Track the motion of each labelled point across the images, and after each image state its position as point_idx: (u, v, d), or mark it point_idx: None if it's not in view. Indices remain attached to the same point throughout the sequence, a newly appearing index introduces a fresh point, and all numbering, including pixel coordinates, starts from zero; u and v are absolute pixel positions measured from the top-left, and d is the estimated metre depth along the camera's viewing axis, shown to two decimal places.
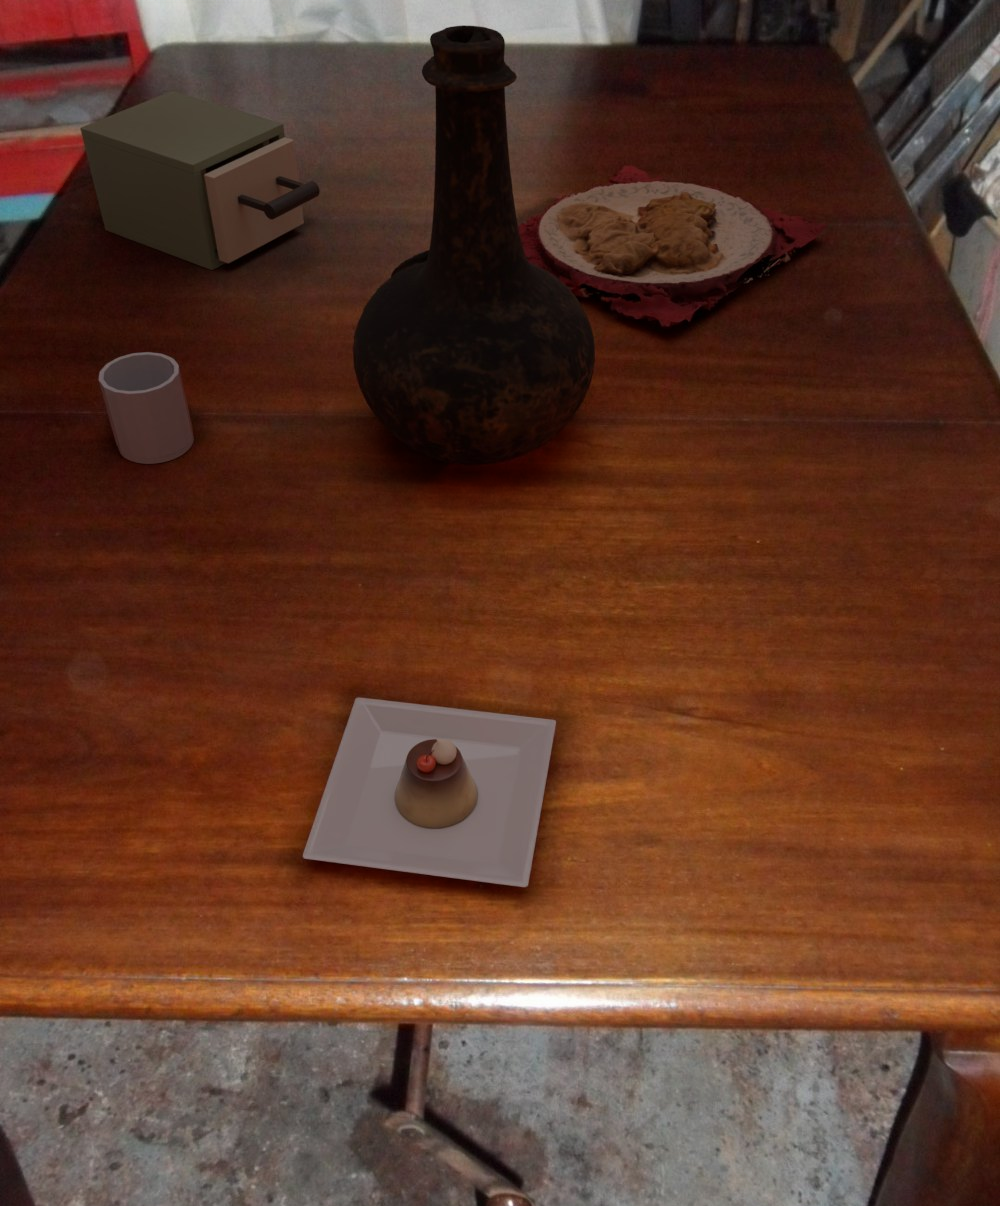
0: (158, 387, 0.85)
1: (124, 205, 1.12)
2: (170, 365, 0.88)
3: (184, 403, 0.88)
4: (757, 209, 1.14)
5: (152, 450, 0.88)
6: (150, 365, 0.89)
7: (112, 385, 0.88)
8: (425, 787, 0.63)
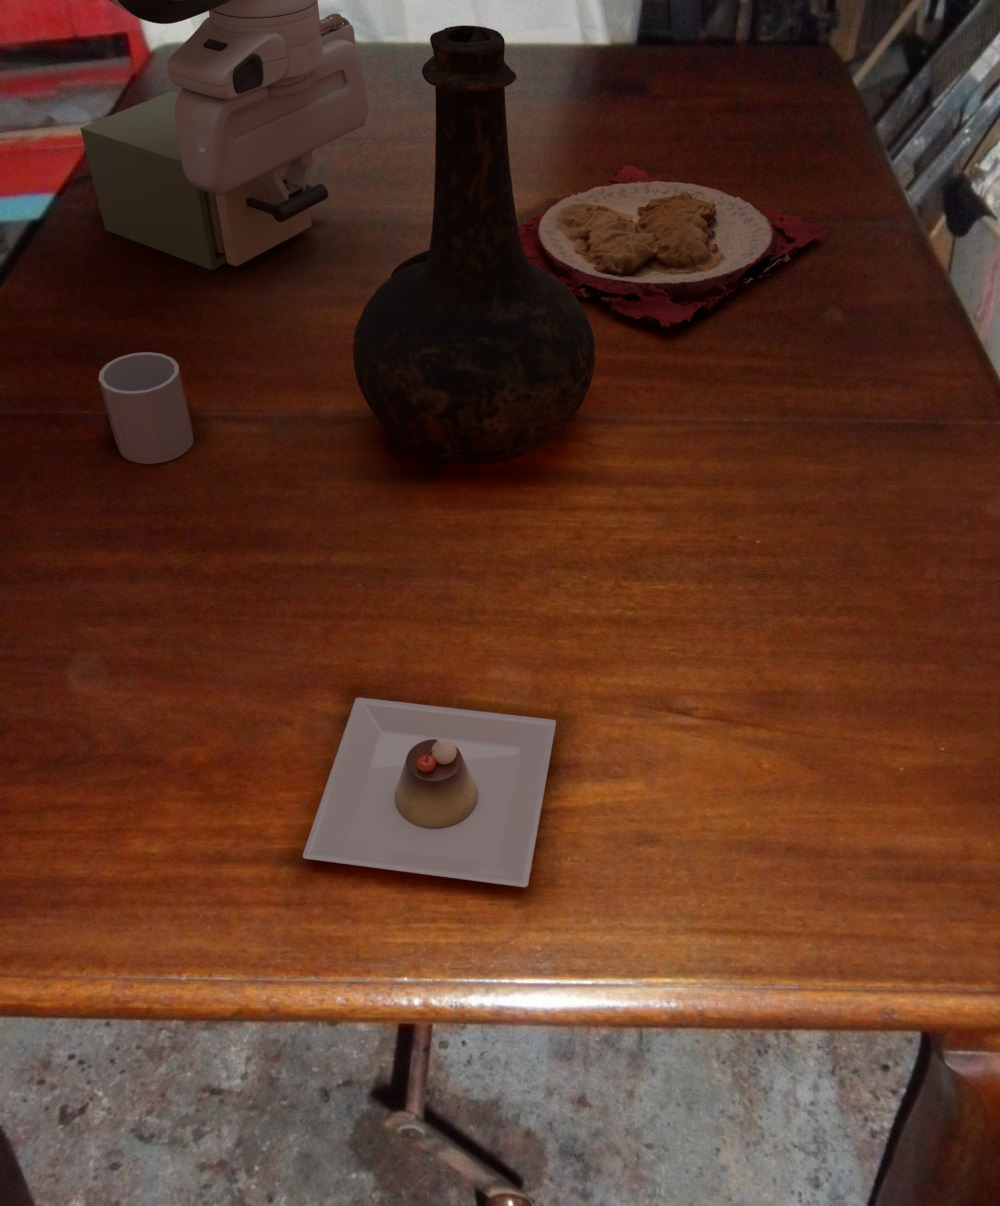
0: (158, 387, 0.85)
1: (124, 205, 1.12)
2: (170, 365, 0.88)
3: (184, 403, 0.88)
4: (757, 209, 1.14)
5: (152, 450, 0.88)
6: (150, 365, 0.89)
7: (112, 385, 0.88)
8: (425, 787, 0.63)
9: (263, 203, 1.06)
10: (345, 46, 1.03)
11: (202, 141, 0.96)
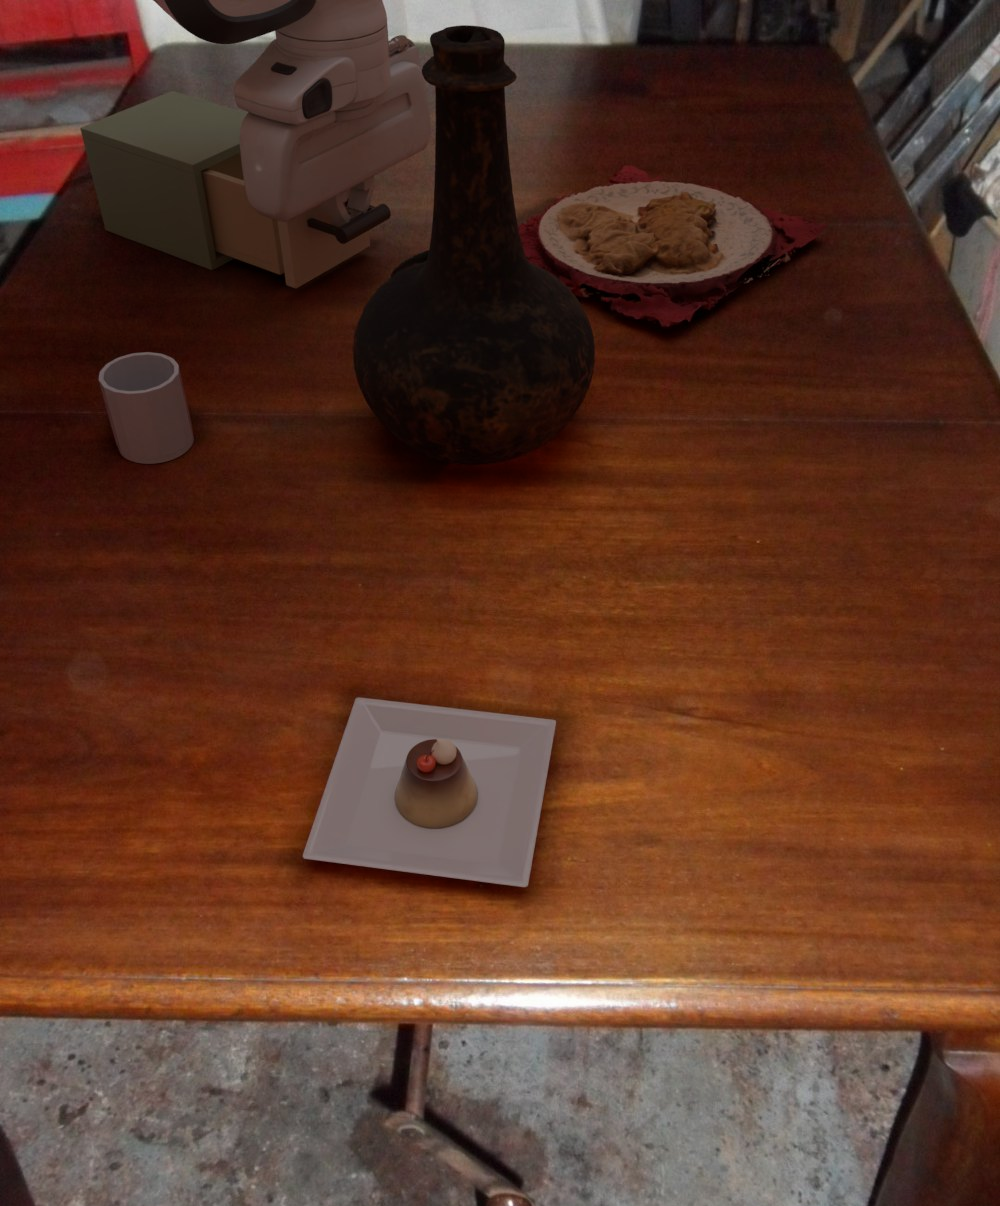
0: (158, 387, 0.85)
1: (124, 205, 1.12)
2: (170, 365, 0.88)
3: (184, 403, 0.88)
4: (757, 209, 1.14)
5: (152, 450, 0.88)
6: (150, 365, 0.89)
7: (112, 385, 0.88)
8: (425, 787, 0.63)
9: (325, 224, 1.03)
10: (411, 69, 1.00)
11: (268, 167, 0.93)
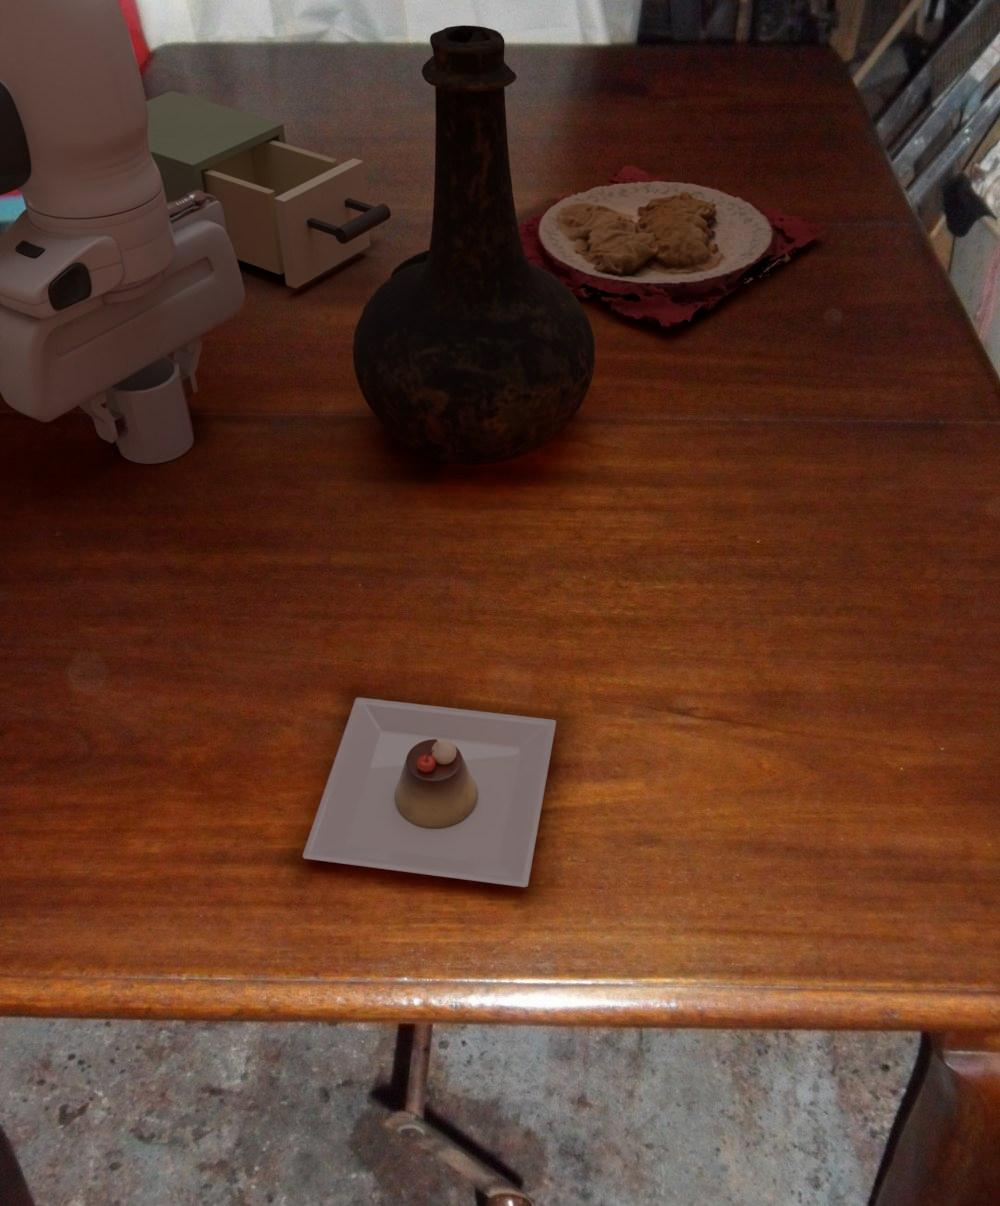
0: (158, 387, 0.85)
1: None
2: (170, 365, 0.88)
3: (184, 403, 0.88)
4: (757, 209, 1.14)
5: (152, 450, 0.88)
6: (150, 365, 0.89)
7: None
8: (425, 787, 0.63)
9: (325, 224, 1.03)
10: (209, 230, 0.84)
11: (16, 364, 0.77)
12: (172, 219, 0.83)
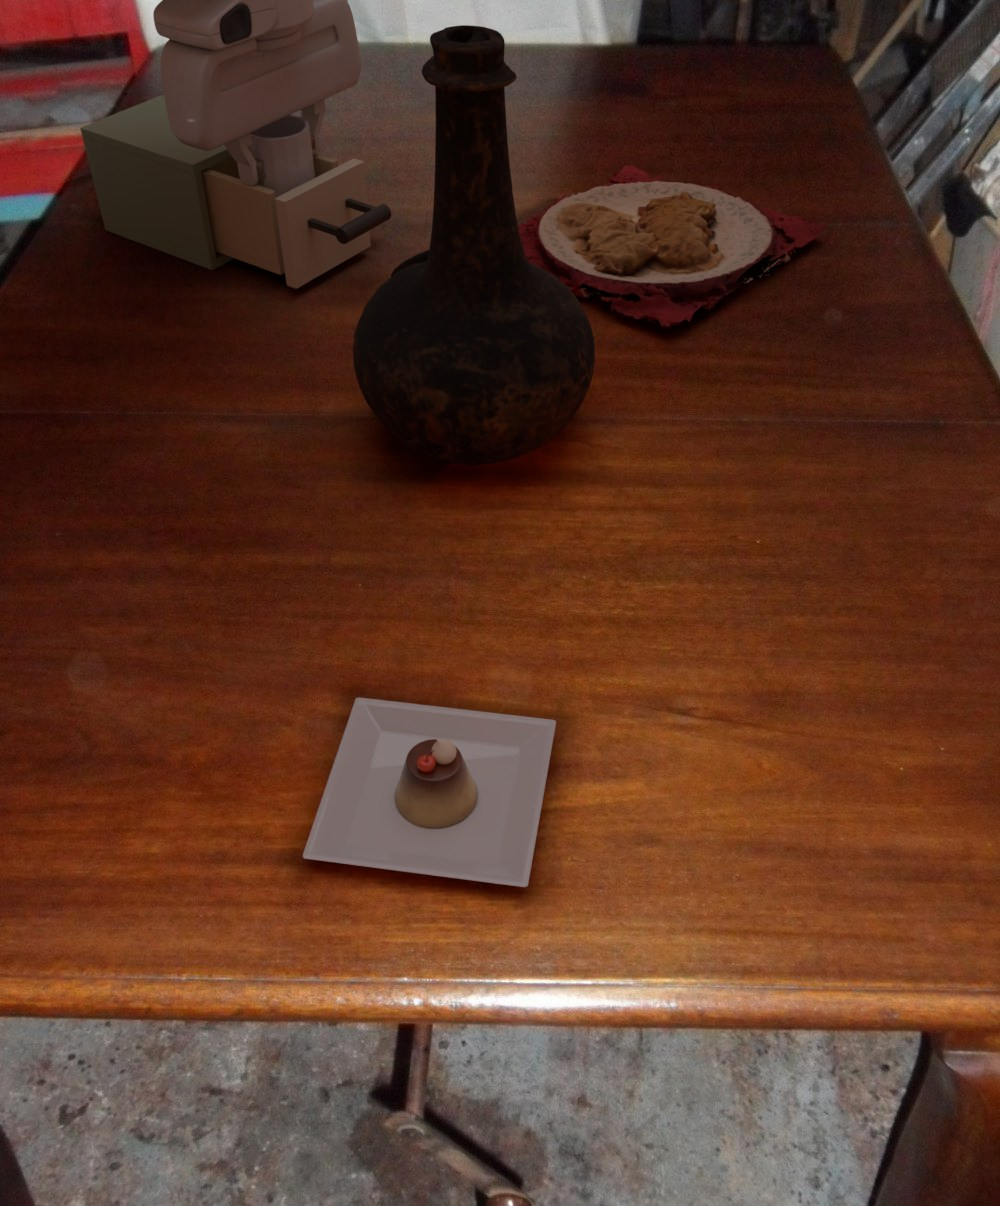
0: (294, 135, 1.01)
1: (124, 205, 1.12)
2: (300, 123, 1.04)
3: (312, 156, 1.04)
4: (757, 209, 1.14)
5: None
6: (282, 126, 1.05)
7: None
8: (425, 787, 0.63)
9: (326, 224, 1.03)
10: (337, 1, 1.00)
11: (188, 93, 0.93)
12: None
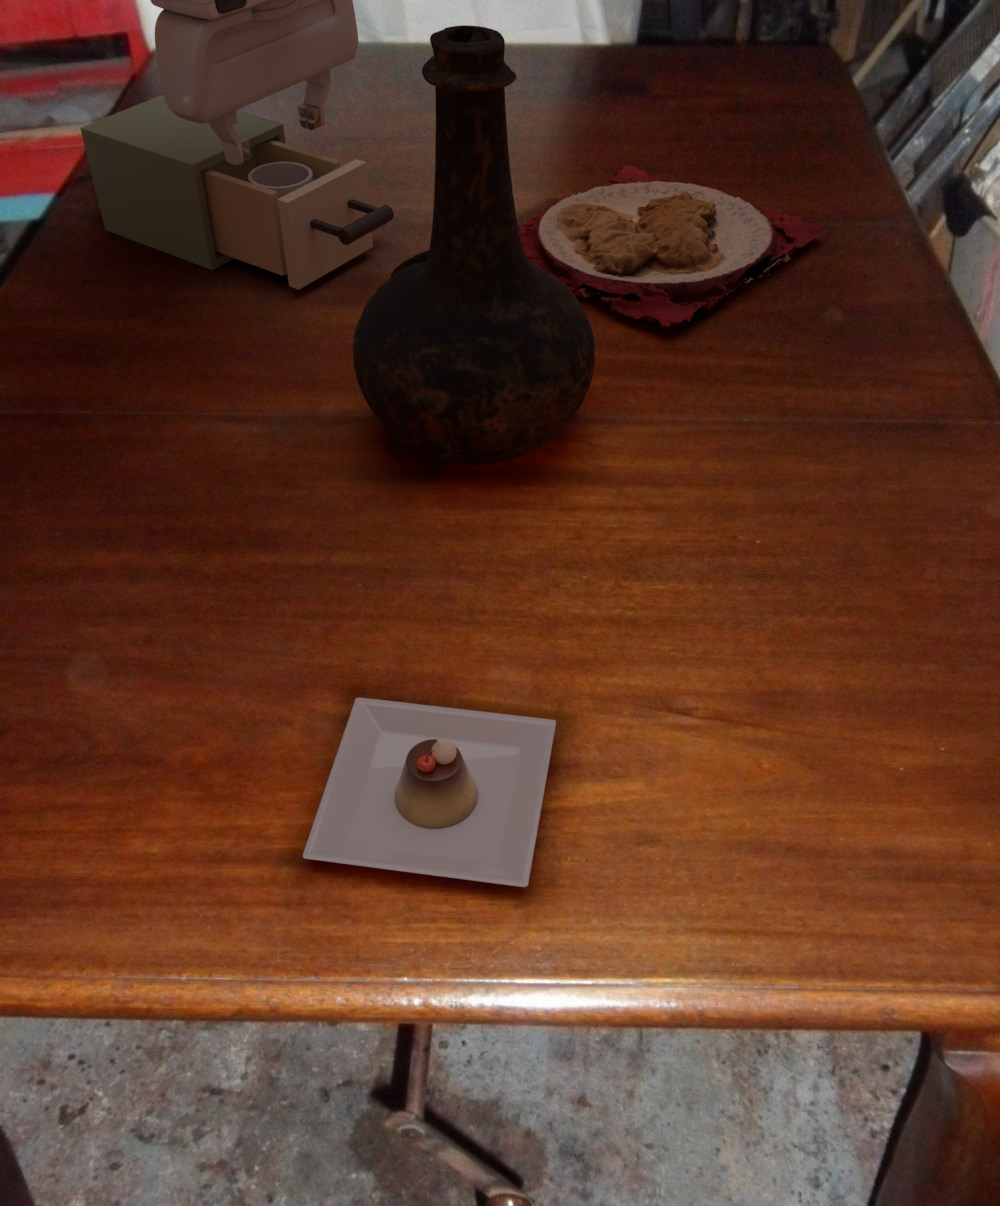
0: (298, 184, 1.04)
1: (124, 205, 1.12)
2: (304, 171, 1.07)
3: None
4: (757, 209, 1.14)
5: None
6: (286, 173, 1.08)
7: None
8: (425, 787, 0.63)
9: (328, 225, 1.03)
10: None
11: (183, 64, 0.92)
12: None
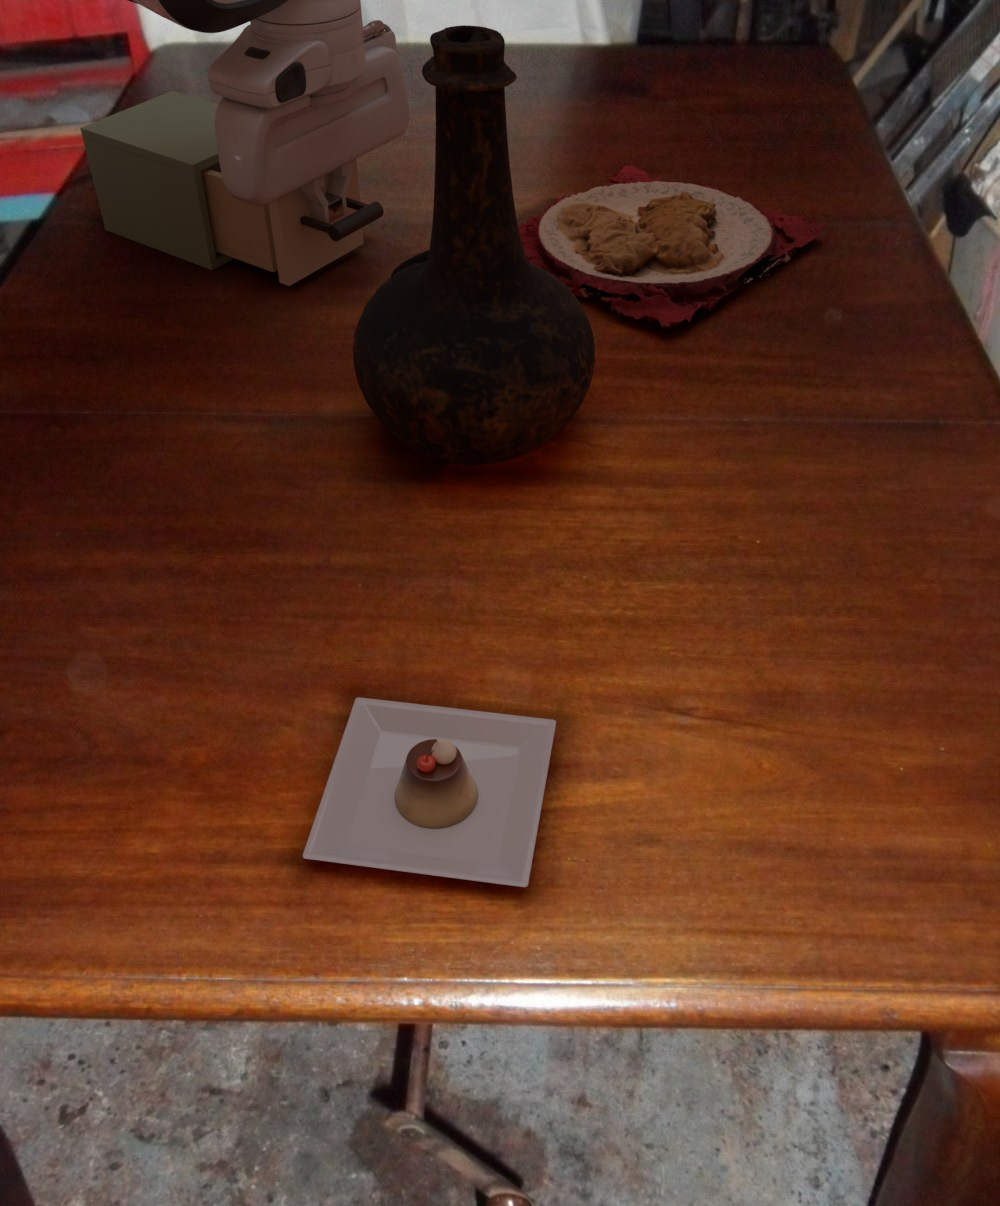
0: None
1: (124, 205, 1.12)
2: None
3: None
4: (757, 209, 1.14)
5: None
6: None
7: None
8: (425, 787, 0.63)
9: (318, 222, 1.03)
10: (387, 53, 1.00)
11: (243, 151, 0.93)
12: None
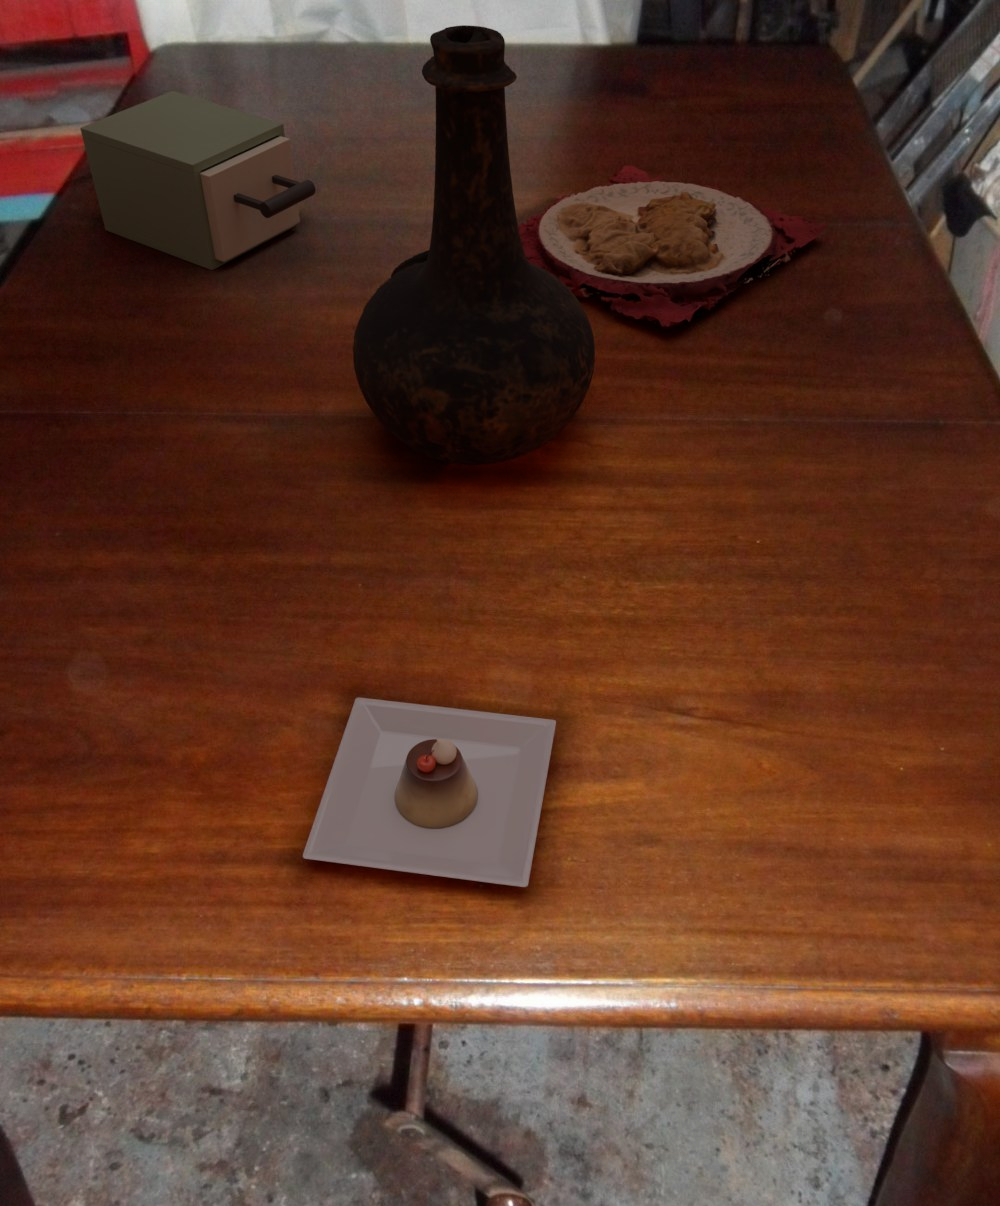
0: None
1: (124, 205, 1.12)
2: None
3: None
4: (757, 209, 1.14)
5: None
6: None
7: None
8: (425, 787, 0.63)
9: (250, 199, 1.06)
10: None
11: None
12: None
